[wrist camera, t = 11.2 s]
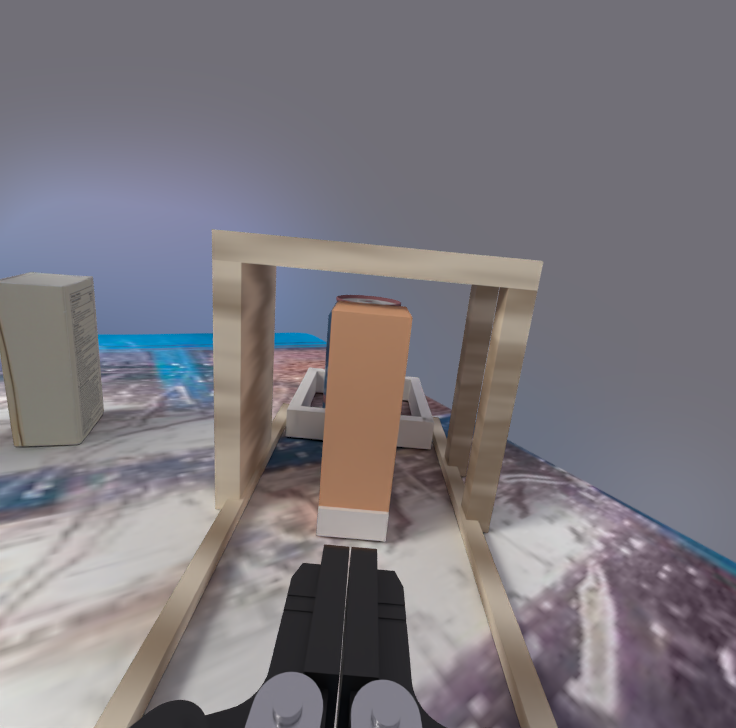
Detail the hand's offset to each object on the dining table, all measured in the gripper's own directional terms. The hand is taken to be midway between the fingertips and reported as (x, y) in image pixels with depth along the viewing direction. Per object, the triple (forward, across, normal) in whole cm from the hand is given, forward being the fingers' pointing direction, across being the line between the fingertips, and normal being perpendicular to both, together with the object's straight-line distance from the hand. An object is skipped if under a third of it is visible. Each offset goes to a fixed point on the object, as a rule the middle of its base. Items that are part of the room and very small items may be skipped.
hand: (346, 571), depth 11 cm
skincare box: (+20, +24, +8) cm, 32 cm away
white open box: (+23, 0, +7) cm, 24 cm away
